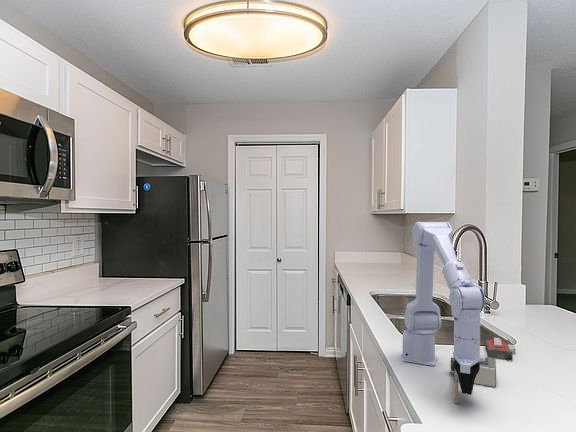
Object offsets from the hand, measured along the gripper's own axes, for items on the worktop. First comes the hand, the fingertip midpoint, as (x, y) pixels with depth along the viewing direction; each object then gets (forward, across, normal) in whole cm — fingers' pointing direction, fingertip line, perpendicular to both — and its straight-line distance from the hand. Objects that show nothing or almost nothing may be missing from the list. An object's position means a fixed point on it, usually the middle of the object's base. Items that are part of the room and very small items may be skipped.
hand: (466, 392), depth 94 cm
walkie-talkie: (+3, +45, -8) cm, 46 cm away
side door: (+2, +5, +3) cm, 6 cm away
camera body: (+2, +16, -1) cm, 17 cm away
